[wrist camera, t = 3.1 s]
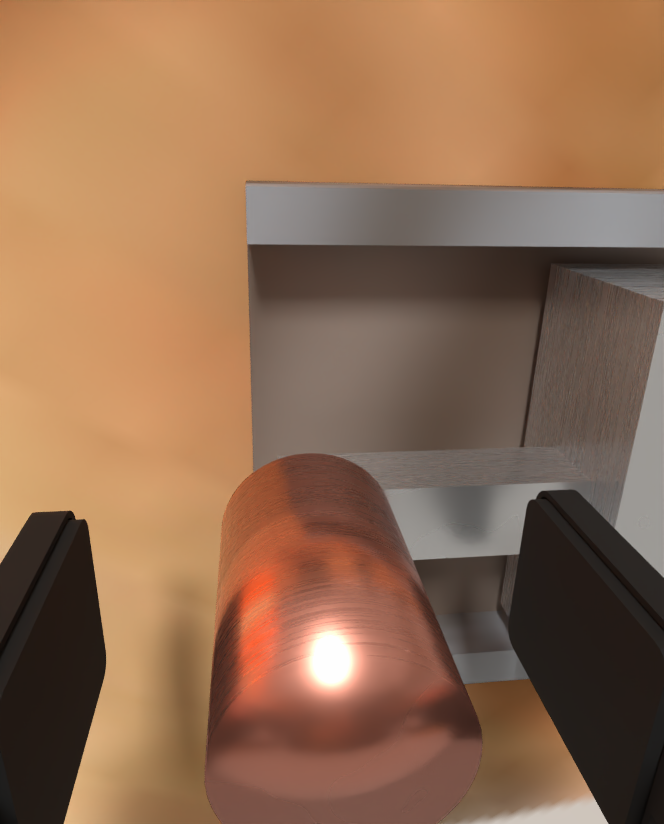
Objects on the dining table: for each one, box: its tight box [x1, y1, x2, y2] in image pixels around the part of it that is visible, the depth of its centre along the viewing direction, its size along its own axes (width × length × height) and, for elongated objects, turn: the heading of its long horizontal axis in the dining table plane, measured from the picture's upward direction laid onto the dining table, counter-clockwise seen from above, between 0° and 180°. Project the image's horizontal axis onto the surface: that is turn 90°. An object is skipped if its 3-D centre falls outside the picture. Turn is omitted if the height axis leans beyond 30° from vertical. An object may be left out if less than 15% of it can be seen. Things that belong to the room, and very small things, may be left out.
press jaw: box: [205, 264, 664, 824], centre depth 11 cm, size 10×9×8 cm
